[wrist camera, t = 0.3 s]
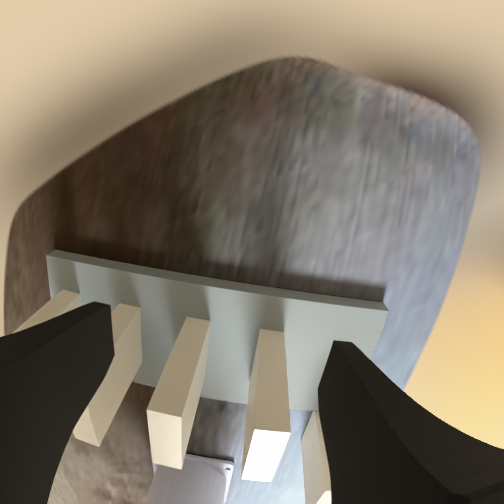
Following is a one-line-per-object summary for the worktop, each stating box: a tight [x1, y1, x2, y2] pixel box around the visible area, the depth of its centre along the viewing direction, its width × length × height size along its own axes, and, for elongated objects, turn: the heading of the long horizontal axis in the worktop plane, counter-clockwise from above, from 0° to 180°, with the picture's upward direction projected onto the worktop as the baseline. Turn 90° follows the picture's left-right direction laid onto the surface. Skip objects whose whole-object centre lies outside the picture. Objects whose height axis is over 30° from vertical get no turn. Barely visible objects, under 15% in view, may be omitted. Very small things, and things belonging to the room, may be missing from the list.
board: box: [46, 250, 389, 411], centre depth 21 cm, size 9×22×1 cm, turn 82°
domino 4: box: [241, 329, 291, 482], centre depth 16 cm, size 4×2×8 cm, turn 172°
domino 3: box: [147, 317, 211, 469], centre depth 16 cm, size 4×2×8 cm, turn 172°
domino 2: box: [73, 303, 143, 447], centre depth 16 cm, size 4×2×8 cm, turn 172°
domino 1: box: [12, 290, 82, 334], centre depth 16 cm, size 4×2×8 cm, turn 171°
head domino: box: [301, 411, 331, 504], centre depth 20 cm, size 4×2×8 cm, turn 172°
